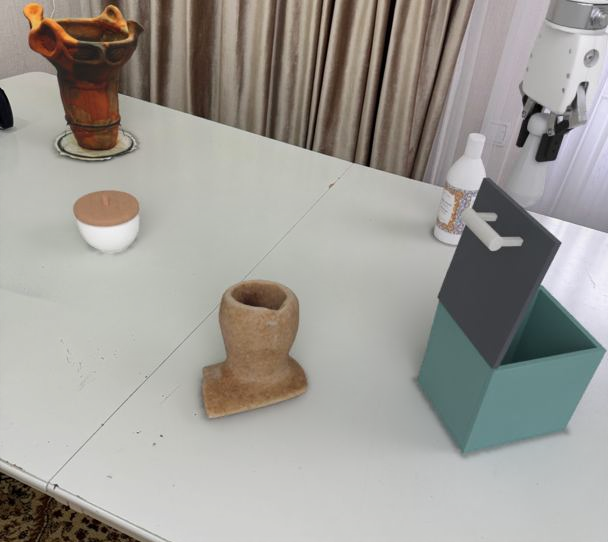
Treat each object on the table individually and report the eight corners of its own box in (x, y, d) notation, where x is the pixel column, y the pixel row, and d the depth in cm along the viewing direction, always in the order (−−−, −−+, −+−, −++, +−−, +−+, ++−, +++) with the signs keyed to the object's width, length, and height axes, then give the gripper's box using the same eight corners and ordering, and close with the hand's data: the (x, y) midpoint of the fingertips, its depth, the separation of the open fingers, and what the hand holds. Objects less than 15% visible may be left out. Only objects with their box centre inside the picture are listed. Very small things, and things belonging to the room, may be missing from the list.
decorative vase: (170, 146, 141) (159, 10, 123) (79, 175, 128) (52, 27, 109) (117, 117, 151) (100, -13, 132) (28, 141, 138) (-5, 0, 119)
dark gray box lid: (489, 177, 69) (451, 176, 67) (562, 242, 59) (520, 243, 58) (442, 297, 79) (408, 298, 77) (498, 368, 70) (461, 372, 68)
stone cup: (284, 346, 93) (290, 263, 83) (316, 401, 85) (326, 316, 75) (185, 368, 88) (178, 282, 78) (208, 429, 80) (203, 341, 70)
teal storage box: (510, 364, 93) (541, 284, 84) (564, 431, 84) (607, 350, 74) (416, 382, 89) (438, 300, 79) (462, 454, 80) (493, 372, 70)
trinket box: (83, 264, 105) (73, 215, 99) (78, 232, 112) (69, 184, 106) (147, 256, 108) (141, 208, 102) (139, 225, 115) (133, 178, 109)
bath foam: (426, 230, 121) (449, 130, 108) (455, 225, 123) (482, 126, 110) (445, 249, 116) (472, 146, 103) (476, 243, 119) (505, 142, 105)
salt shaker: (495, 201, 94) (519, 116, 86) (508, 187, 98) (533, 104, 89) (532, 213, 92) (560, 127, 83) (544, 199, 95) (573, 115, 87)
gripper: (649, 31, 73) (593, 177, 85) (563, -4, 85) (525, 128, 97) (596, 33, 71) (546, 182, 83) (516, -3, 83) (483, 132, 95)
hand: (535, 152), depth 90 cm, fingers closed on salt shaker, 4 cm apart
